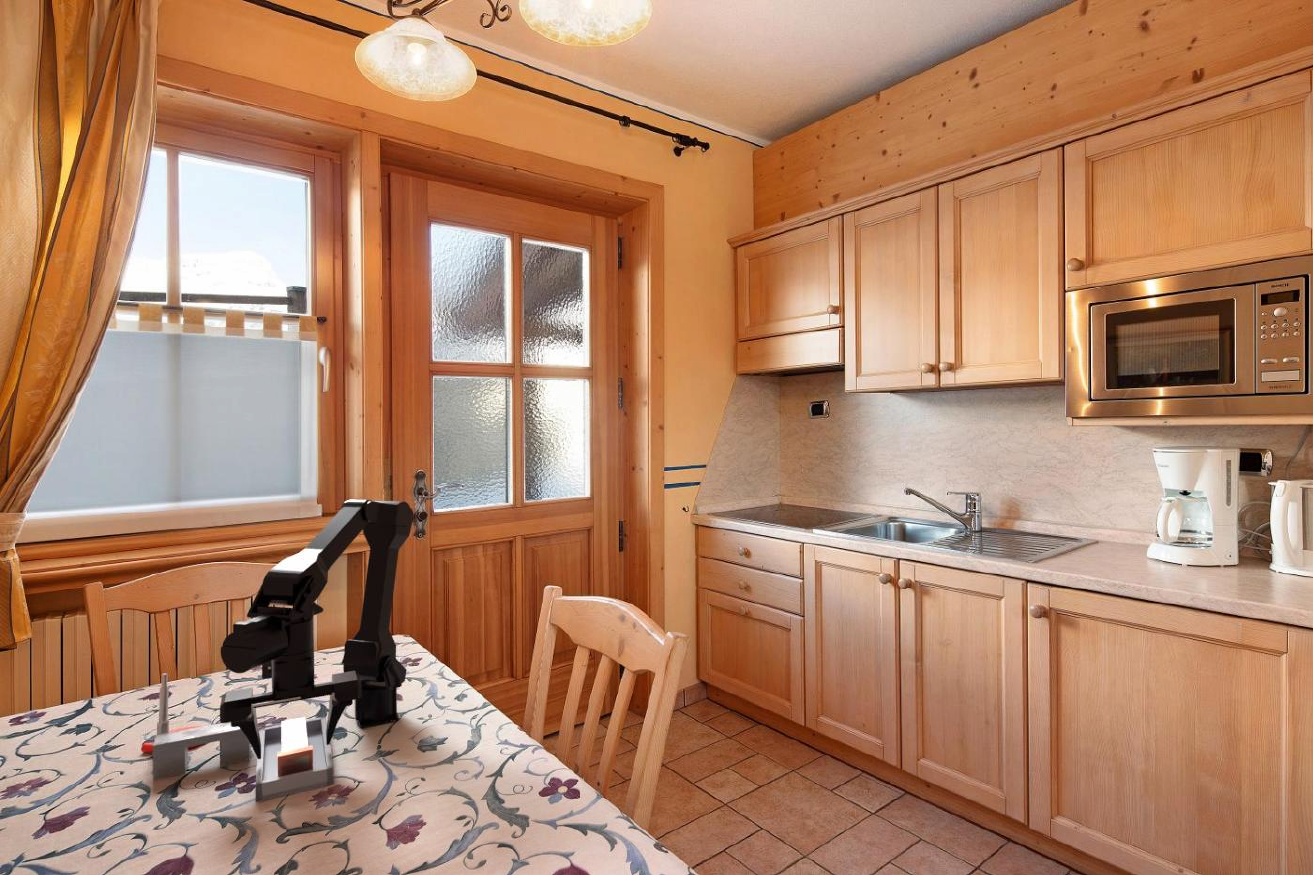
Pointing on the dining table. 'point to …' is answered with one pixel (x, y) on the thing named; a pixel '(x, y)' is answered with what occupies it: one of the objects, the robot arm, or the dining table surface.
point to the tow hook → (163, 716)
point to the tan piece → (294, 748)
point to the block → (174, 745)
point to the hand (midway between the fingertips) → (294, 750)
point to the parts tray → (277, 786)
